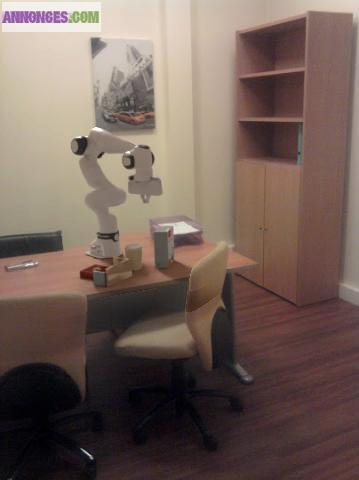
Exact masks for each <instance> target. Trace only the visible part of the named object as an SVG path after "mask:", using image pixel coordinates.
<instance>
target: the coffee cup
mask: <svg viewBox="0 0 359 480" xmlns="http://www.w3.org/2000/svg"><path fill="white" fill-rule="evenodd" d="M124 254H125V258H128V259H131V268H132V271H138V270H141V269H142V268H143V267H142V266H143V246H142V245H141V244H139V243H138V244H137V243H133V244H127V245H125V246H124Z"/></svg>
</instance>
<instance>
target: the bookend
mask: <svg viewBox="0 0 359 480" xmlns="http://www.w3.org/2000/svg"><path fill="white" fill-rule="evenodd" d="M93 278H94V280H93V285H94V286H98V287H101V288H107V287H108V286H107V279H106V273H105V272H100V271H93Z"/></svg>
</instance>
